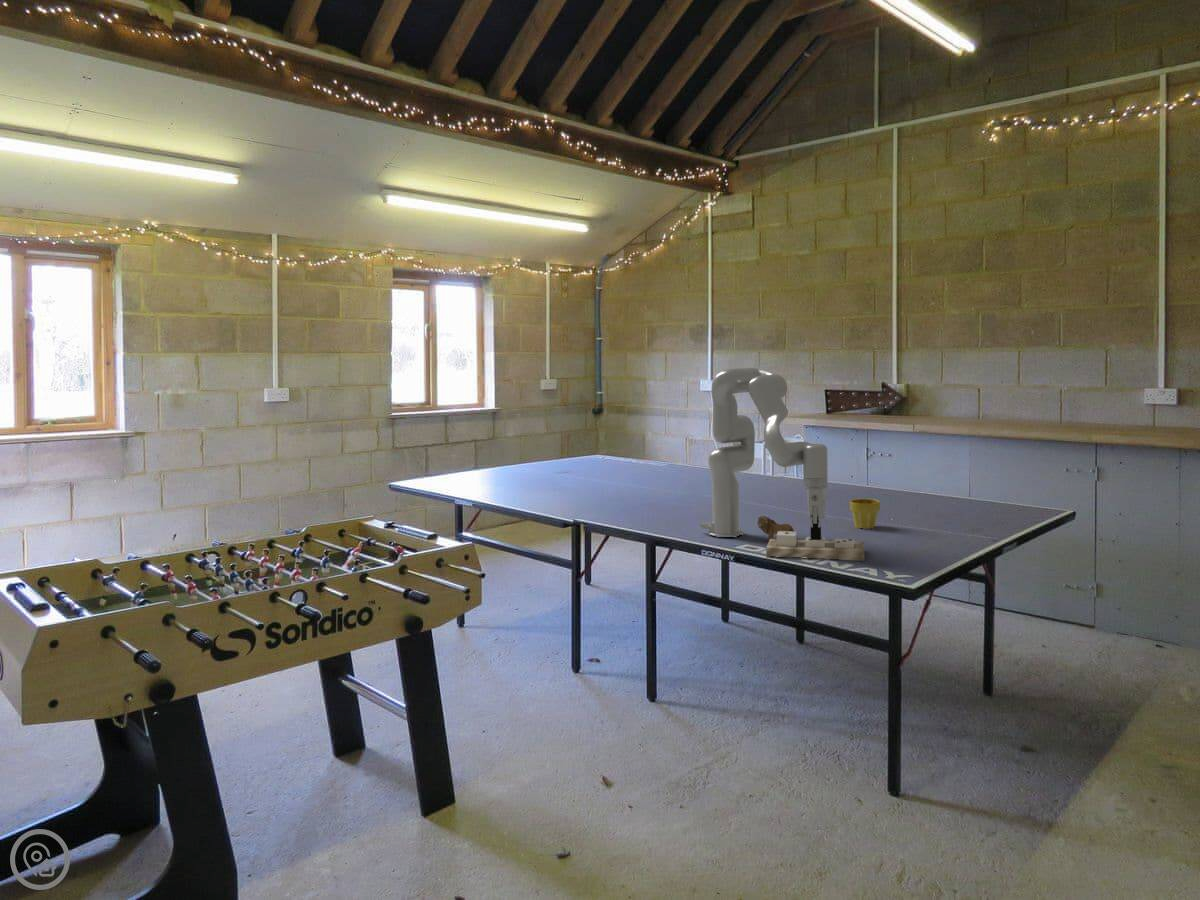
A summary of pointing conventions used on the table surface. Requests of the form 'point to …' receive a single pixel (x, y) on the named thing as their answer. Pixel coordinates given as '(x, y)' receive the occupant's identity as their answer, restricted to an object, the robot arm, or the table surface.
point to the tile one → (786, 538)
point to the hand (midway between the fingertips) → (815, 539)
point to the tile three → (844, 543)
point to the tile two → (815, 542)
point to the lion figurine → (772, 526)
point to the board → (816, 551)
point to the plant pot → (864, 512)
